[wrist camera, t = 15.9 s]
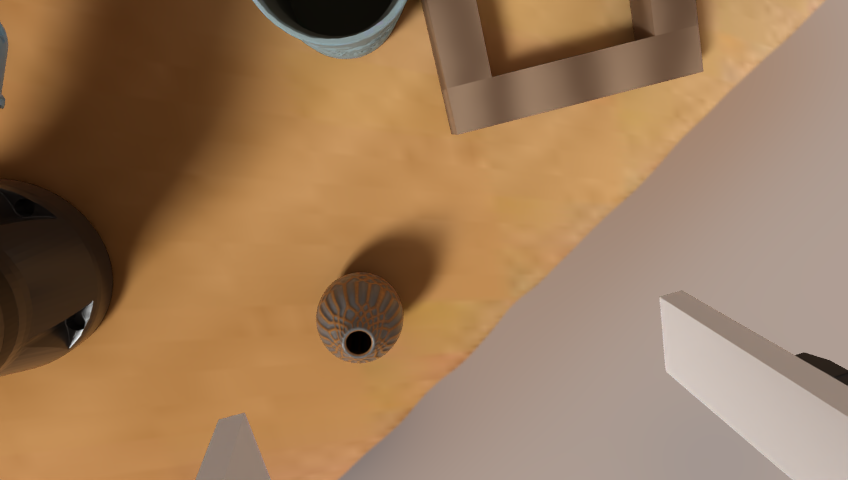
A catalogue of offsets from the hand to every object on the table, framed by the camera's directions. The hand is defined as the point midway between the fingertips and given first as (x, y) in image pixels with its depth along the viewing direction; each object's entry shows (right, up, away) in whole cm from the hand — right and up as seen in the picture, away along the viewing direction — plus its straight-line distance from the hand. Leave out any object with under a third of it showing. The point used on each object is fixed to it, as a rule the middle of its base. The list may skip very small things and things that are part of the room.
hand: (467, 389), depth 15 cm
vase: (-7, -1, +29) cm, 30 cm away
